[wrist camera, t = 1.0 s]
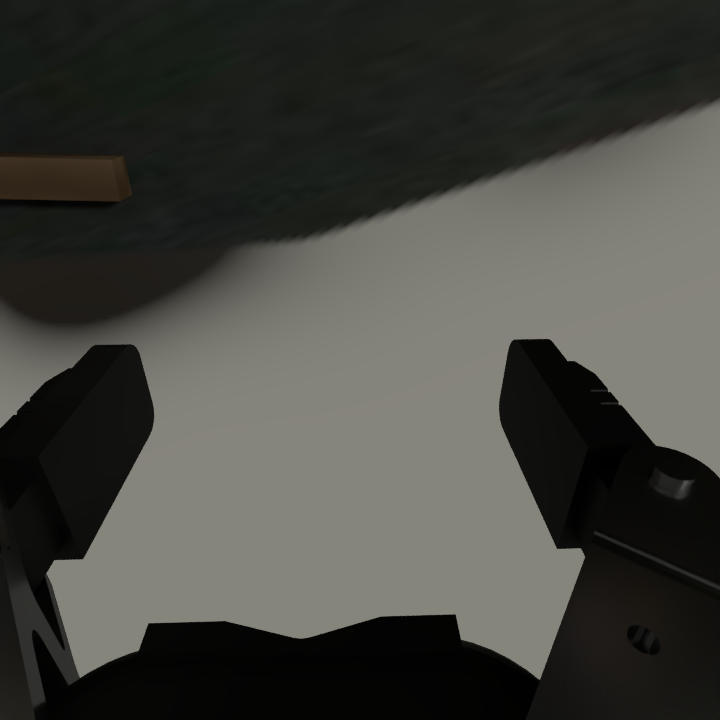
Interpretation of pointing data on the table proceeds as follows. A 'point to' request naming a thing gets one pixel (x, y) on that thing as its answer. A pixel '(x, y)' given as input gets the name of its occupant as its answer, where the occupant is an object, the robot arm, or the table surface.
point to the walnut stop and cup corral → (63, 177)
